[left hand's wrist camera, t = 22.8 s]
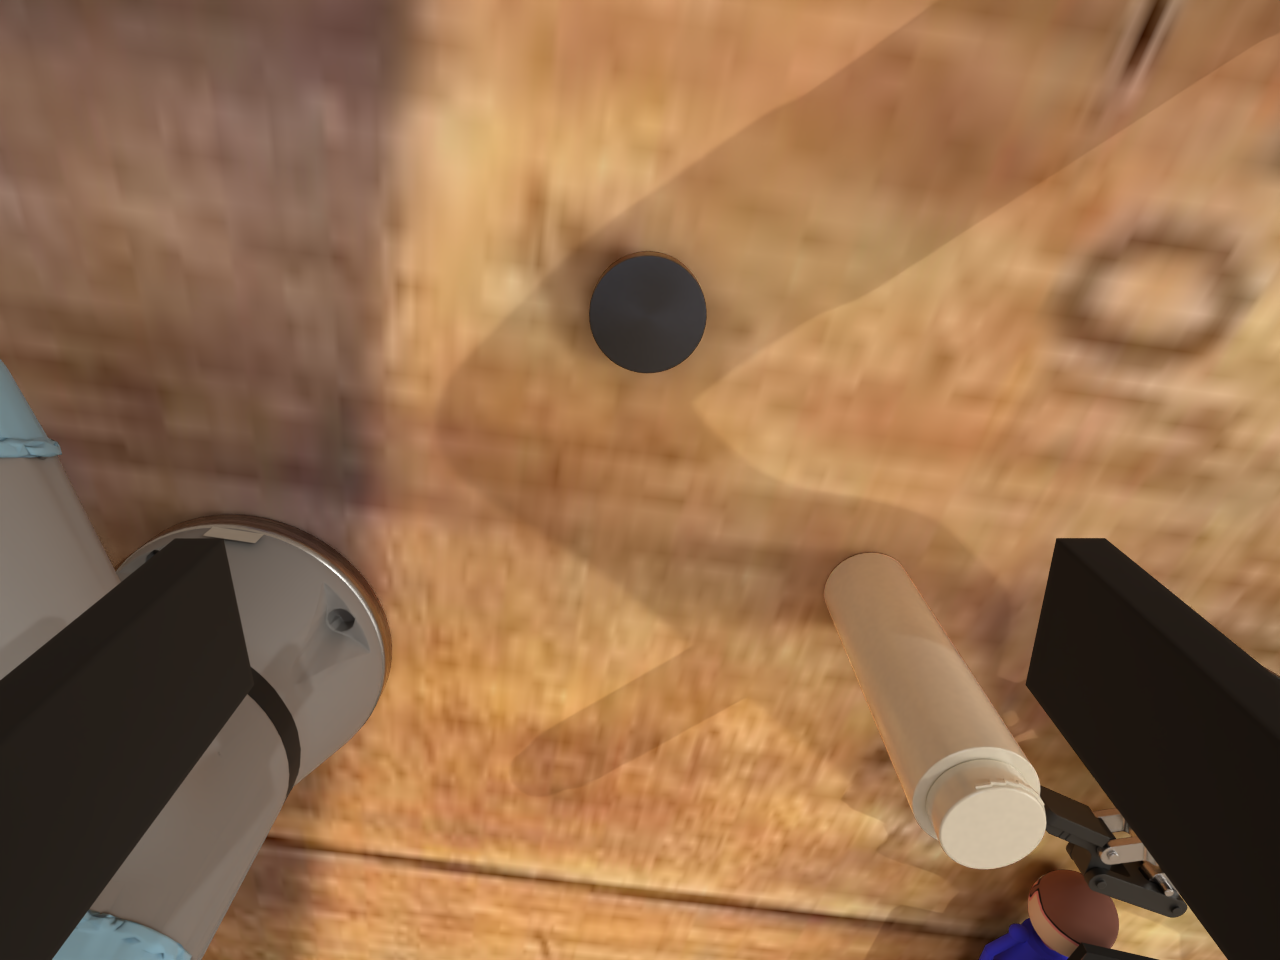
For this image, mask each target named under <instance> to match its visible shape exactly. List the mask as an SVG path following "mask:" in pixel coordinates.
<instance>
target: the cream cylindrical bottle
mask: <svg viewBox="0 0 1280 960" xmlns="http://www.w3.org/2000/svg"><path fill="white" fill-rule="evenodd" d="M824 599H825V604H826V607H827V609H828V611H829V614H830V616H831V619H832V621H833V623H834V626H835V628H836V630H837V633H838V635H839V638H840V640H841V642H842V645H843V647H844V650H845V652H846V654H847V657H848V659H849V662H850V664H851V666H852V669H853V671H854V674H855V676H856V678H857V681H858V683H859V685H860V688H861V690H862V693H863V695H864V697H865V700H866V702H867V705H868V707H869V709H870V712H871V714H872V717H873V719H874V721H875V724H876V726H877V729H878V731H879V733H880V736H881V738H882V740H883V743H884V745H885V748H886V750H887V752H888V755H889V757H890V760H891V762H892V764H893V767H894V769H895V772H896V774H897V776H898V779H899V781H900V784H901V786H902V788H903V791H904V793H905V795H906V798H907V800H908V803H909V805H910V807H911V810H912V812H913V815H914V817H915V819H916V821H917V823H918V824H919V826H920V827H921V828H922V829H923V830H924V831H925V832H926V833H927V834H928V835H930V836H931V837H933V838H935V839H937V840H938V841H939V843H940V845H941V847H942V849H943V850H944V852H945V853H946V854H947V855H948V856H949V857H950V858H951V859H952V860H954V861H955V862H957V863H959V864H961V865H963V866H966V867H970V868H974V869H995V868H1001V867H1004V866H1008V865H1010V864H1013V863H1015V862H1017V861H1019V860H1021V859H1023V858H1024V857H1026V856H1027V855H1028V854H1030V853H1031V852H1032V851H1033V850H1034V849H1035V848H1036V847H1037V845H1038V844H1039V843H1040V841H1041V840H1042V838H1043V835H1044V833H1045V829H1046V813H1045V808H1044V803H1043V801H1042V799H1041V798H1040V781H1039V777H1038V775H1037V773H1036V770H1035V769H1034V767H1033V766H1032V764H1031V763H1030V761H1029V760H1028V758H1027V757H1026V755H1025V753H1024V752H1023V750H1022V749H1021V747H1020V746H1019V744H1018V743H1017V741H1016V740H1015V738H1014V736H1013V735H1012V733H1011V732H1010V730H1009V729H1008V727H1007V726H1006V724H1005V723H1004V721H1003V720H1002V718H1001V716H1000V715H999V713H998V712H997V710H996V709H995V707H994V706H993V704H992V703H991V701H990V699H989V698H988V696H987V695H986V693H985V692H984V690H983V689H982V687H981V686H980V684H979V682H978V681H977V679H976V678H975V676H974V675H973V673H972V672H971V670H970V669H969V667H968V666H967V664H966V662H965V661H964V659H963V658H962V656H961V655H960V653H959V652H958V650H957V649H956V647H955V645H954V644H953V642H952V641H951V639H950V638H949V636H948V635H947V633H946V632H945V630H944V629H943V627H942V625H941V624H940V622H939V621H938V619H937V618H936V616H935V615H934V613H933V612H932V610H931V608H930V607H929V605H928V604H927V602H926V601H925V599H924V598H923V596H922V595H921V593H920V592H919V590H918V588H917V587H916V585H915V584H914V582H913V581H912V579H911V578H910V576H909V575H908V573H907V571H906V570H905V569H904V567H903V566H902V565H901V564H900V563H899V562H898V561H897V560H895V559H894V558H892V557H890V556H887V555H884V554H880V553H862V554H858V555H855V556H852V557H850V558H848V559H846V560H844V561H843V562H841V563H840V564H839V565H838V566H837V567H836V568H835V569H834V570H833V571H832V572H831V574H830V575H829V577H828V579H827V582H826V585H825V589H824Z"/></svg>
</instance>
